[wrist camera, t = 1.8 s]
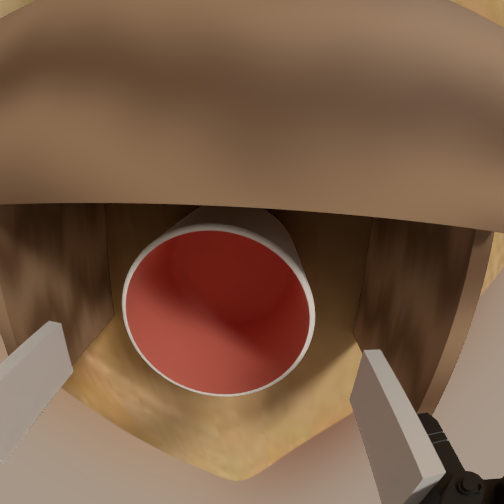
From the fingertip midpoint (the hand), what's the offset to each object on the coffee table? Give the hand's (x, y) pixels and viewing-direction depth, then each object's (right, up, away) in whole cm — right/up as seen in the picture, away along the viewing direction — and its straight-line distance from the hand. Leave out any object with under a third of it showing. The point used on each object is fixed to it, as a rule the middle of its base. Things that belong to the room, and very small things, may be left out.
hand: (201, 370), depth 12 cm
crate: (+1, +9, +11) cm, 14 cm away
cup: (+1, +4, +13) cm, 14 cm away
